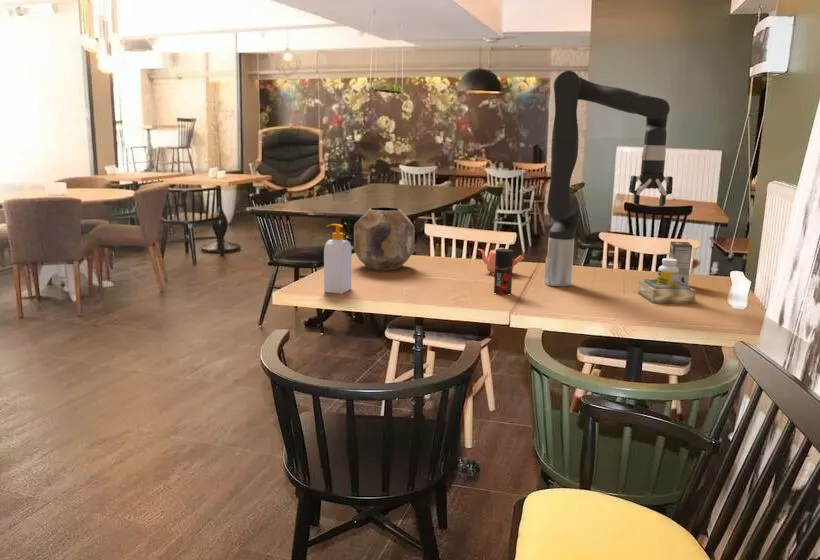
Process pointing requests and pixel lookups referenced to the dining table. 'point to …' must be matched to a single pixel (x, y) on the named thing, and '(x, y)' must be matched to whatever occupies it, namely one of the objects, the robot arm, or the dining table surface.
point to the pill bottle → (668, 273)
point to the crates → (666, 292)
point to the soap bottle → (337, 263)
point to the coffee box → (681, 259)
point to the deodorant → (503, 271)
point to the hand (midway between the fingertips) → (649, 206)
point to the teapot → (491, 260)
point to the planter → (384, 238)
